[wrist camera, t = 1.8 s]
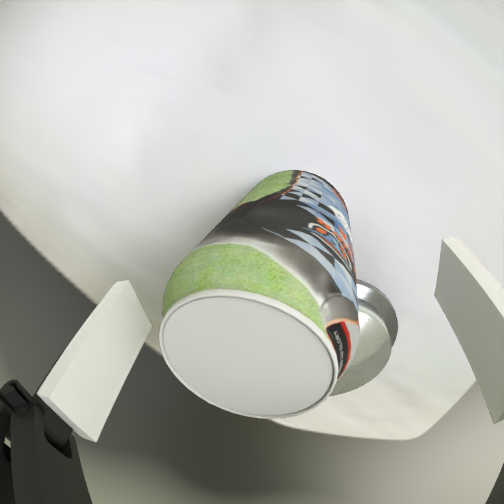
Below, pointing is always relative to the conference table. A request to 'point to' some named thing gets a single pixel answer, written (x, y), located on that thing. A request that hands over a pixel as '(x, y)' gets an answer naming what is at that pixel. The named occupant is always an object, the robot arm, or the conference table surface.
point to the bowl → (370, 339)
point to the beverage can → (267, 302)
